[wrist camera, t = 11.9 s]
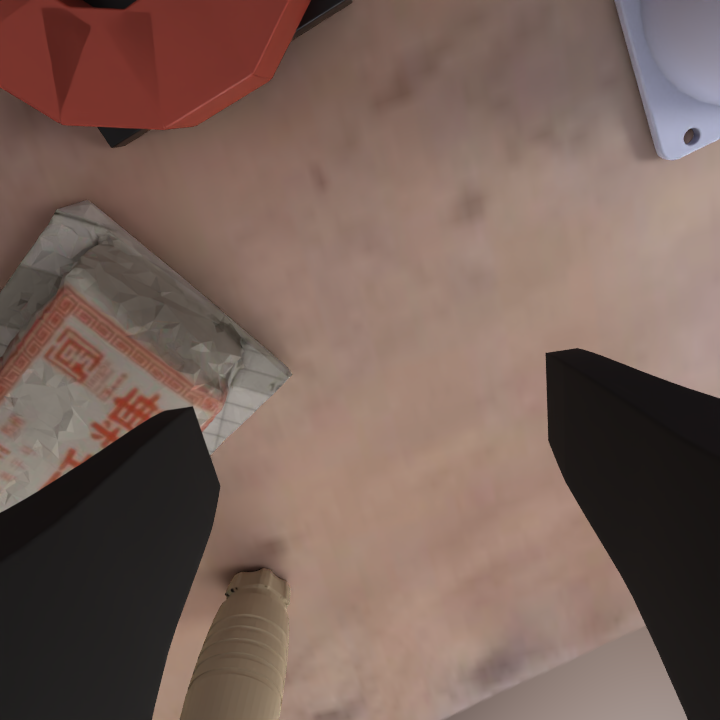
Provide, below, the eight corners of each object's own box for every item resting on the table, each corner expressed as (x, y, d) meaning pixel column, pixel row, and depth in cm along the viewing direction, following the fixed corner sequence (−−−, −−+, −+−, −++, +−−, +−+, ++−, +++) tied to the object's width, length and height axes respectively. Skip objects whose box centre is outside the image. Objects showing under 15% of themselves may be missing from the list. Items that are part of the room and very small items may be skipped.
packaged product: (2, 210, 15) (278, 426, 18) (87, 186, 19) (297, 363, 22) (-226, 556, 21) (10, 678, 23) (-121, 477, 25) (67, 587, 28)
